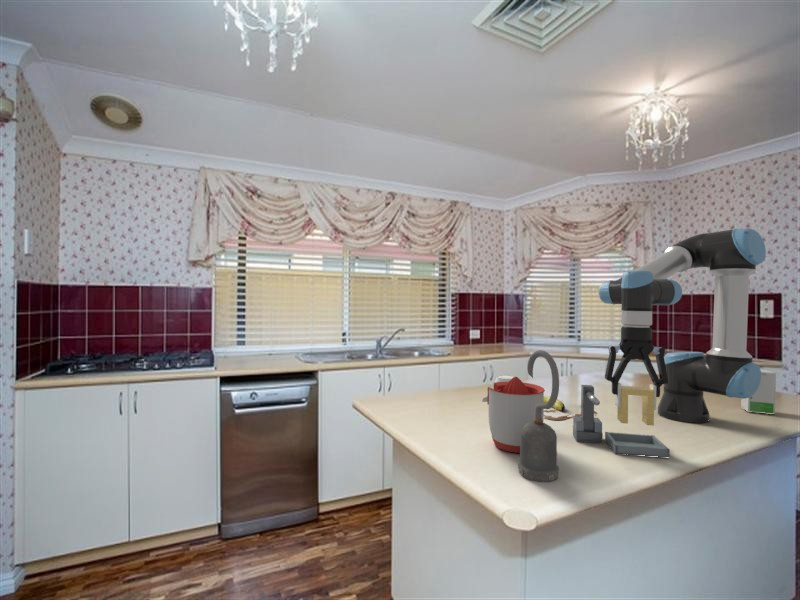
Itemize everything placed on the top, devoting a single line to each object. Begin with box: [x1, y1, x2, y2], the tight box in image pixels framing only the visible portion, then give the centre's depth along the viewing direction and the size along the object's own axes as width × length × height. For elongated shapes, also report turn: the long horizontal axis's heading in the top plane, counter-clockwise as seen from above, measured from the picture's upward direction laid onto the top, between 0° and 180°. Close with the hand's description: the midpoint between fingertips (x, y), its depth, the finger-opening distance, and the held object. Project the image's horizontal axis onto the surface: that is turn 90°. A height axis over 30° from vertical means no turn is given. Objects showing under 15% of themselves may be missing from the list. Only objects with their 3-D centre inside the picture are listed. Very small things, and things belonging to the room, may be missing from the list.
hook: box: [517, 349, 560, 483], centre depth 96 cm, size 10×12×30 cm
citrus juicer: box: [481, 376, 546, 454], centre depth 115 cm, size 16×17×20 cm
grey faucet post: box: [572, 384, 604, 445], centre depth 116 cm, size 7×14×16 cm, turn 166°
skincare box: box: [740, 369, 777, 414], centre depth 149 cm, size 8×7×16 cm
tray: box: [604, 431, 671, 457], centre depth 112 cm, size 13×11×2 cm
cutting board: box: [544, 394, 598, 421], centre depth 157 cm, size 35×27×4 cm
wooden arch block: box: [617, 385, 655, 426], centre depth 112 cm, size 8×4×10 cm, turn 76°
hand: (635, 407), depth 112 cm, fingers closed on wooden arch block, 8 cm apart
